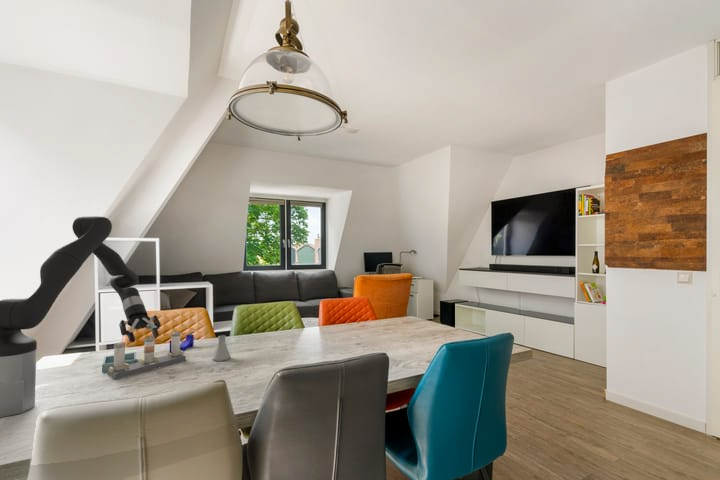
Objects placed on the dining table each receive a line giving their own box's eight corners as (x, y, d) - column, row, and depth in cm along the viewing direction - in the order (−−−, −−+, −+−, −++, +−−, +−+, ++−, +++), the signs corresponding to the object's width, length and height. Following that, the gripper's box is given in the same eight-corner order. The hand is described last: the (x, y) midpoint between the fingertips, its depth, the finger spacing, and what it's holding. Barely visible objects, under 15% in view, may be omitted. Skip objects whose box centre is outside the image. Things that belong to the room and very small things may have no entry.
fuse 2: (180, 356, 145) (180, 332, 145) (171, 357, 143) (171, 334, 143) (179, 354, 147) (180, 331, 148) (170, 355, 145) (171, 332, 146)
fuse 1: (124, 370, 127) (125, 343, 128) (113, 372, 126) (113, 345, 126) (124, 367, 130) (125, 341, 131) (113, 369, 128) (114, 343, 129)
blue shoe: (185, 346, 167) (186, 334, 168) (193, 346, 166) (193, 334, 167) (166, 353, 156) (167, 340, 156) (174, 354, 155) (175, 341, 155)
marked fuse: (154, 362, 136) (154, 338, 136) (144, 364, 134) (144, 339, 134) (153, 360, 139) (154, 336, 139) (143, 361, 137) (144, 337, 137)
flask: (209, 360, 145) (209, 337, 146) (222, 355, 152) (223, 333, 152) (220, 362, 142) (220, 339, 142) (233, 357, 148) (234, 335, 149)
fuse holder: (114, 379, 123) (114, 370, 123) (106, 374, 128) (106, 365, 128) (186, 360, 145) (186, 352, 145) (177, 357, 150) (177, 349, 150)
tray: (135, 366, 137) (135, 359, 137) (102, 372, 131) (102, 364, 131) (135, 359, 147) (135, 352, 147) (104, 363, 141) (104, 356, 141)
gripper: (117, 305, 139) (128, 337, 132) (154, 301, 150) (166, 330, 143) (112, 316, 142) (122, 348, 135) (149, 311, 153) (160, 340, 146)
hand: (145, 339), depth 139 cm, fingers open, 8 cm apart
